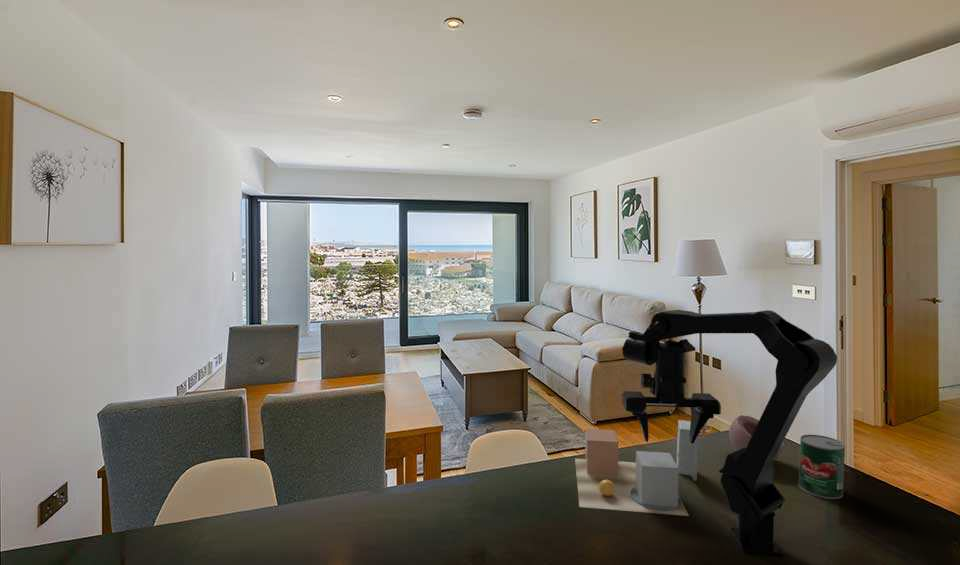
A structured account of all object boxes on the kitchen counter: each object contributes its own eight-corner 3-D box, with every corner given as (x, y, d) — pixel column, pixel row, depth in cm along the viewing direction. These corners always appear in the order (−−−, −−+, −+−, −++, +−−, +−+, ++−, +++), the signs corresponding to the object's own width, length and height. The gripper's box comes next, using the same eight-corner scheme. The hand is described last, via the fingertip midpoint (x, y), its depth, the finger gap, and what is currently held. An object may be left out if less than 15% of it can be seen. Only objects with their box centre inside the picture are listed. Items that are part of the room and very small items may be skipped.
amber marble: (615, 499, 94) (615, 484, 94) (599, 498, 95) (599, 483, 95) (613, 491, 97) (613, 477, 97) (598, 490, 98) (598, 476, 98)
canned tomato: (801, 494, 98) (803, 444, 97) (795, 478, 105) (797, 431, 104) (847, 503, 94) (849, 451, 94) (838, 485, 101) (840, 438, 101)
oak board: (688, 521, 88) (688, 514, 88) (579, 512, 92) (579, 505, 92) (662, 468, 110) (662, 463, 110) (574, 463, 113) (575, 457, 113)
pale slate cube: (677, 506, 91) (678, 468, 90) (641, 503, 92) (642, 465, 92) (669, 488, 98) (669, 452, 97) (635, 486, 99) (635, 450, 98)
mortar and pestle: (775, 477, 105) (777, 429, 105) (721, 460, 114) (722, 416, 113) (789, 461, 113) (791, 416, 113) (737, 446, 122) (738, 405, 121)
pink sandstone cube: (618, 475, 104) (618, 442, 104) (587, 473, 106) (587, 440, 105) (614, 461, 111) (614, 430, 111) (585, 460, 112) (585, 428, 112)
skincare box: (675, 467, 111) (676, 419, 110) (695, 470, 109) (696, 421, 108) (677, 479, 105) (678, 428, 104) (698, 482, 103) (699, 430, 103)
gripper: (702, 361, 102) (701, 429, 103) (617, 360, 104) (617, 426, 105) (722, 374, 91) (721, 450, 92) (627, 372, 93) (626, 446, 94)
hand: (668, 441), depth 96 cm, fingers open, 9 cm apart
